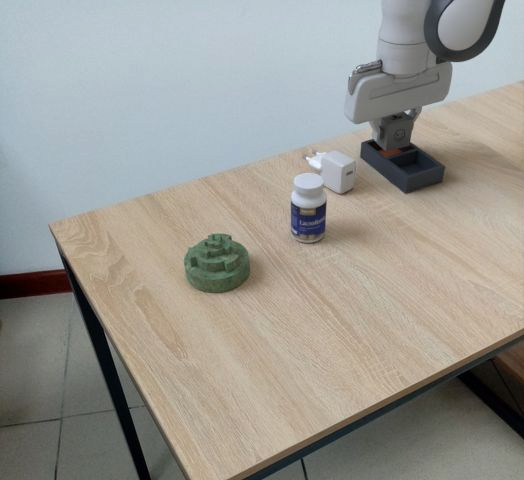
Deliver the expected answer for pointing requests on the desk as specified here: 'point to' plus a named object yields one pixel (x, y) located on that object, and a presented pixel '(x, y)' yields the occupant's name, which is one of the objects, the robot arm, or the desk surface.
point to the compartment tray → (403, 165)
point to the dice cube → (396, 131)
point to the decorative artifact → (217, 264)
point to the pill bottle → (308, 208)
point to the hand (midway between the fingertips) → (392, 134)
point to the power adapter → (334, 169)
